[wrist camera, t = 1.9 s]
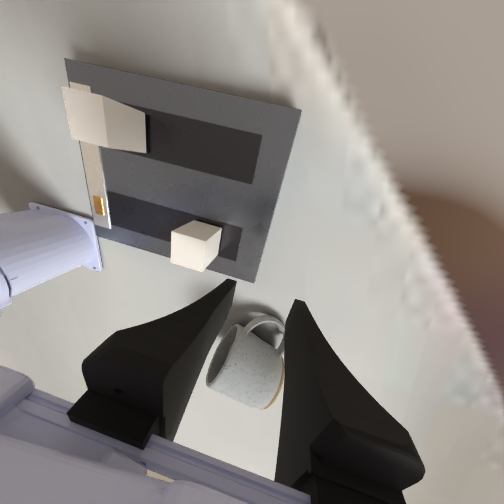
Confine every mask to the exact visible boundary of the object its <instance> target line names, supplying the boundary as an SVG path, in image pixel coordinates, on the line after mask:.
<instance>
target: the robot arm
mask: <svg viewBox="0 0 504 504" xmlns="http://www.w3.org/2000/svg"><path fill="white" fill-rule="evenodd" d="M28 205H29V208H30V210H25V211H18V212H11V213H4V214H0V315H1V308H3V307H5V306H8V305H10V304H12V301H11V299H10V297H13V296H15V295H17V294H19V293H21V292H24V291H26V290H28V289H30V288H33V287H35V286H37V285H39V284H42V283H44V282H46V281H48V280H50V279H53V278H55V277H57V276H59V275H62V274H64V273H66V272H68V271H71V270H73V269H75V268H77V267H79V266H83V267H86V268H89V269H92V270H95V271H99V272H100V271H102V270H103V268H102V262H101V256H100V251H99V245H98V239H97V236H96V233H95V227H94V222H93V220H92V219H89V218H86V217H82V216H79V215H76V214H72V213H69V212H65V211H62V210H59V209H55V208H52V207H48V206H45V205H42V204H38V203H35V202H29V204H28ZM236 283H237V281H235V280H231V279H226V280H225V281H224V282H223V283H221V284H220V285H219V286H218V287H216V288H215V289H214V290H212V291H211V292H209V293H208V294H207V295H205V296H203V297H202V298H200V299H199V300H197V301H195V302H194V303H192V304H190V305H188V306H186V307H185V308H183V309H181V310H178V311H176V312H174V313H172V314H170V315H167V316H165V317H162V318H159V319H157V320H154V321H151V322H148V323H145V324H141V325H138V326H134V327H131V328H127V329H123V330H119V331H116V332H115V333H114V334H112V335H111V336H110V337H109V338H107V339H106V340H105V341H104V342H103V343H102V344H101V345H100V346H98V347H97V348H96V349H95V350H94V351H93V352H92V353H91V354H90V355H89V356H88V357H87V358H85V359H84V360H83V363H82V373H83V376H84V379H85V382H86V385H87V388H88V390H87V391H86V392H85V393H84V394H83V395H82V397H81V398H80V399H79V400H78V401H77V402H76V403H75V404H74V403H71V402H69V401H66V400H64V399H61V398H59V397H56V396H53V395H51V394H48V393H46V392H43V391H41V390H38V389H35V384H34V382H33V381H32V380H31V378H29V377H28V376H27V375H25V374H23V373H20V372H17V371H15V370H12V369H10V368H7V367H4V366H0V504H406V502H405V499H404V496H403V494H402V490H404V489H406V488H408V487H410V486H412V485H414V484H416V483H418V482H419V481H420V480H422V478H423V476H424V474H425V468H424V465H423V463H422V460H421V458H420V456H419V454H418V452H417V450H416V447H415V445H414V443H413V441H412V439H411V437H410V435H409V433H408V431H407V430H406V429H405V428H404V427H403V426H402V425H401V424H400V423H399V422H398V421H396V420H395V419H394V418H393V417H392V416H391V415H390V414H389V413H388V412H387V411H386V410H385V409H384V408H383V407H382V406H381V405H380V404H379V403H378V402H377V401H376V400H375V399H374V398H373V397H372V396H371V395H370V394H369V393H368V392H367V391H366V390H365V388H364V387H363V386H362V385H361V384H360V383H359V382H358V381H357V380H356V378H355V377H354V376H353V375H352V374H351V372H350V371H349V370H348V369H347V368H346V366H345V365H344V364H343V363H342V361H341V360H340V359H339V357H338V356H337V355H336V353H335V352H334V351H333V349H332V348H331V346H330V345H329V343H328V342H327V340H326V339H325V337H324V336H323V334H322V332H321V331H320V329H319V327H318V326H317V324H316V322H315V320H314V318H313V317H312V315H311V313H310V311H309V309H308V307H307V305H306V303H305V302H304V301H301V300H297V299H295V301H294V303H293V305H292V308H291V310H290V313H289V315H288V317H287V320H286V323H285V332H284V368H285V377H284V394H283V406H282V417H281V428H280V437H279V447H278V455H277V464H276V472H275V480H274V481H272V480H270V479H267V478H264V477H262V476H259V475H257V474H254V473H252V472H249V471H246V470H244V469H241V468H239V467H236V466H234V465H231V464H228V463H226V462H223V461H221V460H218V459H216V458H213V457H210V456H208V455H205V454H203V453H200V452H198V451H195V450H192V449H190V448H187V447H185V446H182V445H180V444H177V443H174V442H173V440H174V437H175V435H176V432H177V430H178V427H179V424H180V422H181V419H182V417H183V414H184V412H185V409H186V406H187V404H188V401H189V399H190V396H191V394H192V391H193V389H194V386H195V384H196V381H197V379H198V377H199V374H200V372H201V369H202V367H203V364H204V362H205V360H206V357H207V355H208V353H209V351H210V349H211V347H212V345H213V343H214V341H215V339H216V337H217V335H218V333H219V331H220V329H221V328H222V326H223V324H224V322H225V320H226V318H227V315H228V313H229V310H230V307H231V305H232V301H233V296H234V292H235V287H236ZM145 468H146V469H149V470H151V471H153V472H156V473H158V474H161V475H163V476H166V477H168V478H171V479H173V480H175V481H174V482H172V483H170V482H167V481H164V480H160V479H156V478H153V477H149V476H146V475H147V470H146V469H145Z"/></svg>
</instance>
